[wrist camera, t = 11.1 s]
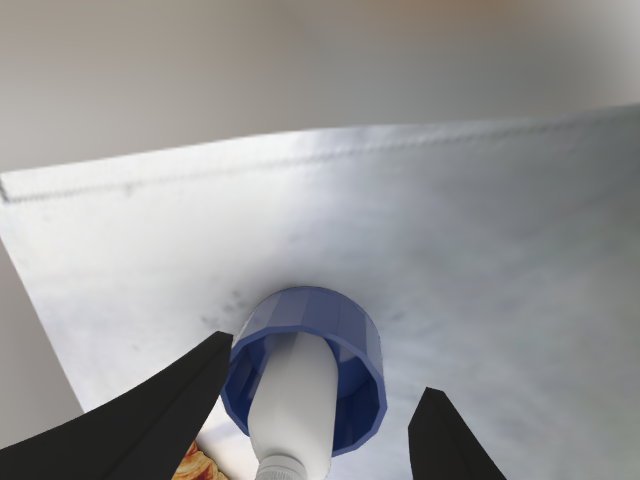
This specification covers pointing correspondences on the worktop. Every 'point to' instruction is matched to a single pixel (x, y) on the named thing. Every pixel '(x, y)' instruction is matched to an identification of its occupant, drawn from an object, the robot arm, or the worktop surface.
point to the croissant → (197, 467)
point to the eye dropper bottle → (295, 409)
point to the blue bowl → (345, 342)
